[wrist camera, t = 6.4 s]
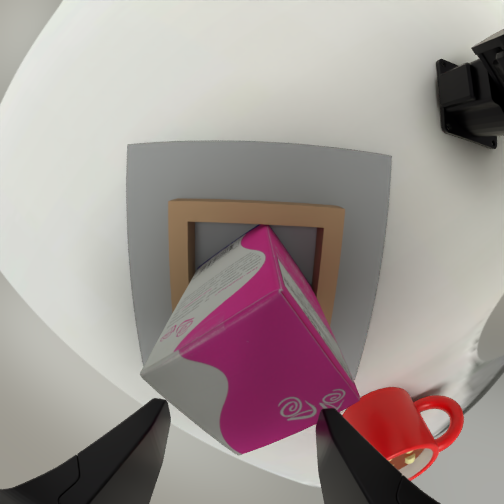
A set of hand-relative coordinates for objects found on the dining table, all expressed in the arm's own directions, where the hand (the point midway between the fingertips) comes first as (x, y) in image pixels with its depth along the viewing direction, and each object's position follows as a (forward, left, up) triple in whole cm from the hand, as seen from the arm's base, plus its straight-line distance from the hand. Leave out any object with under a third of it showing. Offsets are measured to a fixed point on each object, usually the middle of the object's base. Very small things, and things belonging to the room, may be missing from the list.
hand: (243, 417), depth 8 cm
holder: (0, 0, -13) cm, 13 cm away
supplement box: (0, 0, -13) cm, 13 cm away
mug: (-15, +14, -13) cm, 24 cm away
